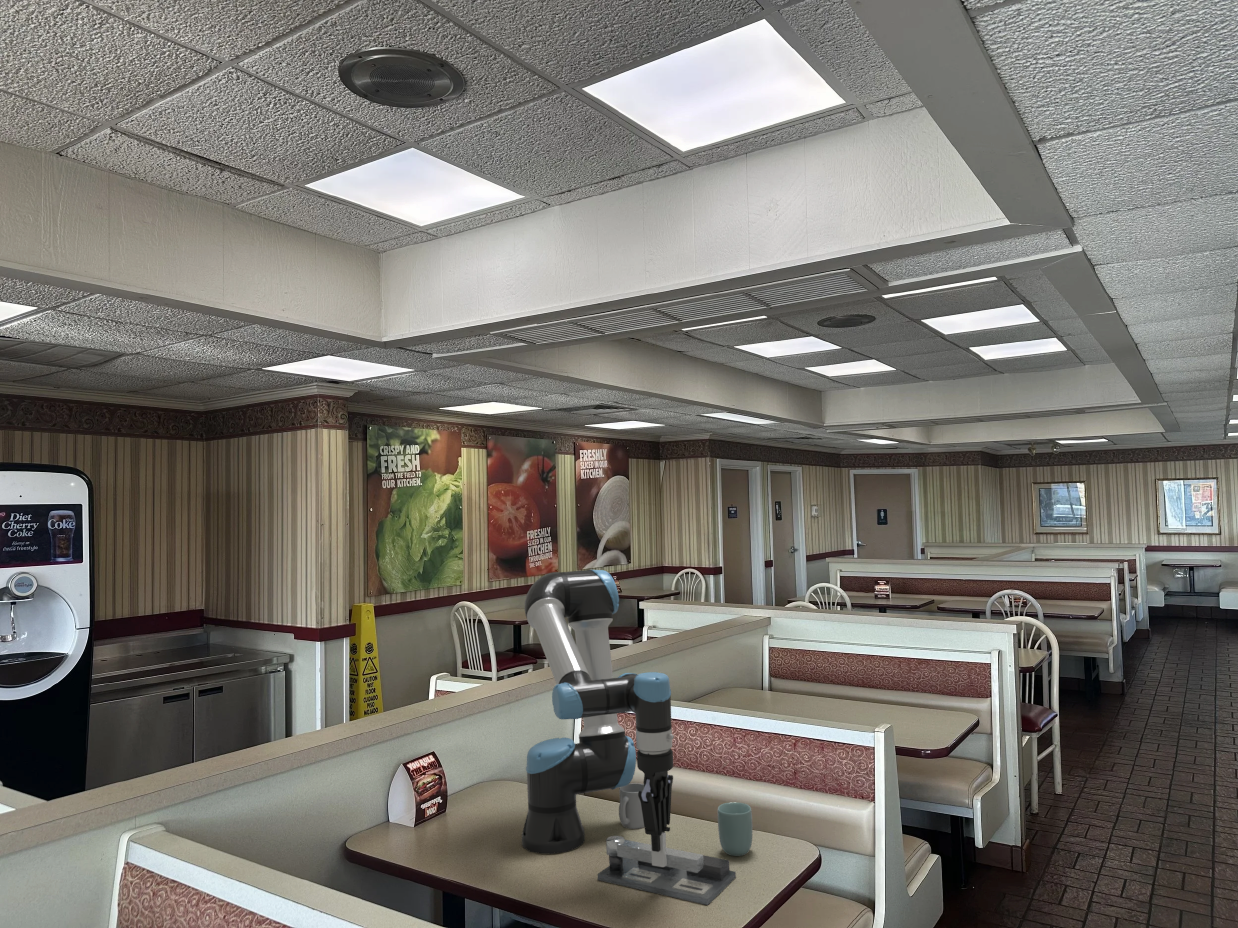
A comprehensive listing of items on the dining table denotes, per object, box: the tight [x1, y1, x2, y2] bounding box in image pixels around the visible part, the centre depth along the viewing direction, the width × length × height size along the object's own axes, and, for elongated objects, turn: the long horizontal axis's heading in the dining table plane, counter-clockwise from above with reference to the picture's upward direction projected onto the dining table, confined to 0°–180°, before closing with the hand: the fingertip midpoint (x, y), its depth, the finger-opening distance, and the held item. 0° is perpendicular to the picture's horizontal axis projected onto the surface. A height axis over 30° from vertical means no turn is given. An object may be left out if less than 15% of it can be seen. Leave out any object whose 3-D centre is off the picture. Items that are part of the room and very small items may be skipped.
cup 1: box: [618, 782, 645, 830], centre depth 210 cm, size 7×10×9 cm
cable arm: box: [605, 835, 704, 873], centre depth 178 cm, size 22×4×3 cm, turn 59°
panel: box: [597, 854, 737, 906], centre depth 179 cm, size 26×14×4 cm, turn 59°
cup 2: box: [717, 801, 753, 857], centre depth 191 cm, size 8×8×10 cm
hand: (659, 864), depth 173 cm, fingers closed
